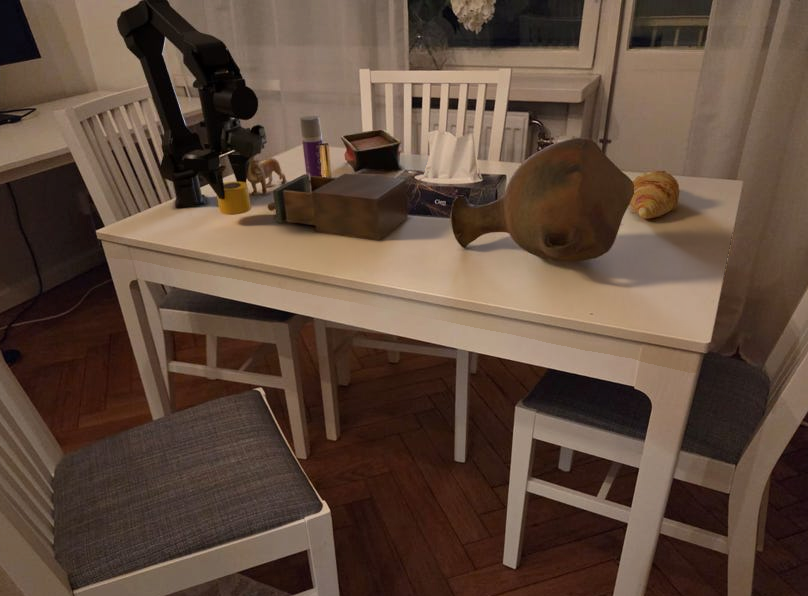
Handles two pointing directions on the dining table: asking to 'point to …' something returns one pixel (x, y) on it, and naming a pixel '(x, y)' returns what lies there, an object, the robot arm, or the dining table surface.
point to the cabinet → (360, 206)
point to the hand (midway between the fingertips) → (232, 194)
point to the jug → (554, 204)
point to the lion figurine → (263, 173)
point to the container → (311, 144)
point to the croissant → (654, 194)
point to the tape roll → (235, 199)
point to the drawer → (297, 199)
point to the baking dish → (372, 150)
